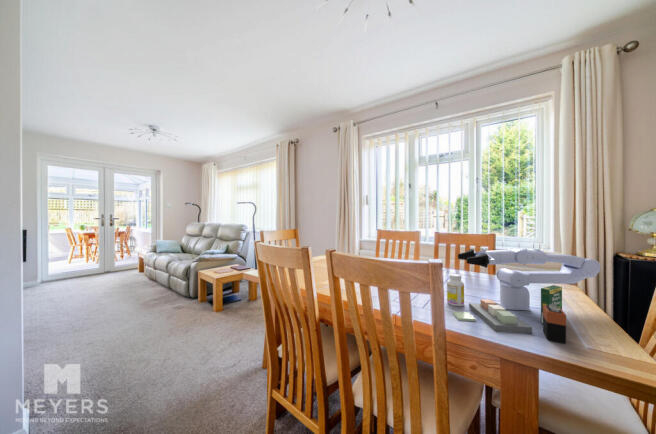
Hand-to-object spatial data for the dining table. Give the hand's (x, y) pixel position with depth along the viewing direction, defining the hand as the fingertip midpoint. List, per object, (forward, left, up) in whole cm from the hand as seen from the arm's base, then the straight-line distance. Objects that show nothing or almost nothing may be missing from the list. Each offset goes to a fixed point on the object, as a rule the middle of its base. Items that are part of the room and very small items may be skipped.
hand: (462, 258), depth 102 cm
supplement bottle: (+2, -1, -21) cm, 21 cm away
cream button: (-7, +13, -19) cm, 24 cm away
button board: (-7, +13, -20) cm, 25 cm away
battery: (-18, +25, -21) cm, 37 cm away
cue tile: (+4, +13, -20) cm, 24 cm away
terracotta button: (-7, +7, -19) cm, 21 cm away
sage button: (-7, +19, -19) cm, 27 cm away
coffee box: (-25, +14, -21) cm, 35 cm away
